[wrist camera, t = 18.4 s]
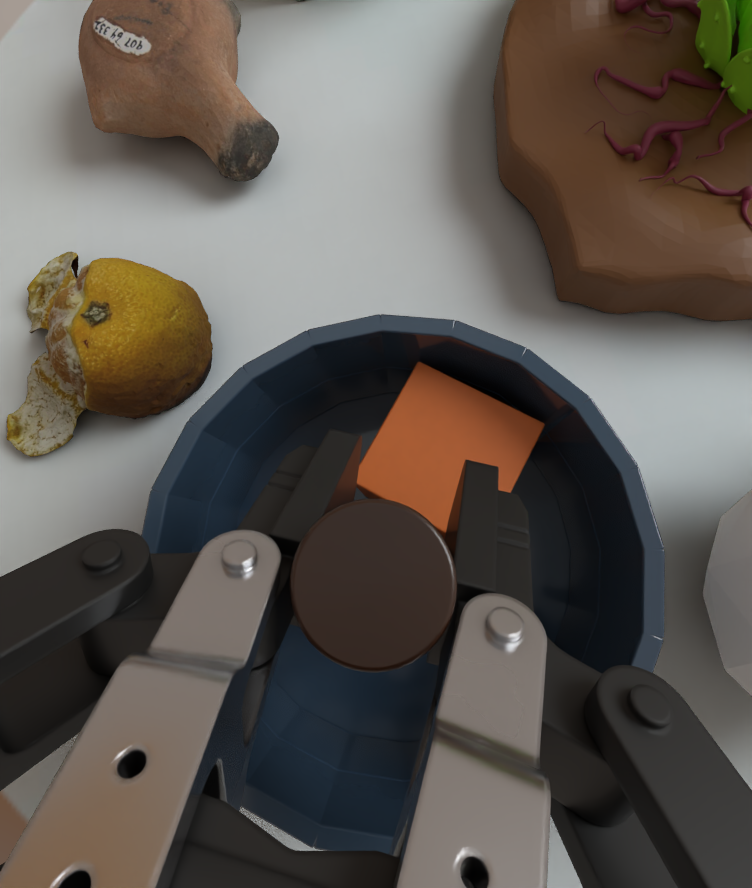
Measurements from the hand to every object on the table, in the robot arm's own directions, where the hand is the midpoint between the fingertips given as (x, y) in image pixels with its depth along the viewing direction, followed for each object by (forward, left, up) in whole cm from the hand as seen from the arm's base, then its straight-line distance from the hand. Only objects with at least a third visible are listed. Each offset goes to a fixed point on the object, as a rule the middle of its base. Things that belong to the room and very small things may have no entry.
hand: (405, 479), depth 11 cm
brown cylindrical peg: (-1, -2, -5) cm, 5 cm away
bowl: (-1, -2, -7) cm, 7 cm away
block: (+1, +1, -6) cm, 6 cm away
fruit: (-11, +9, -7) cm, 16 cm away
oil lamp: (-6, +19, -7) cm, 21 cm away
